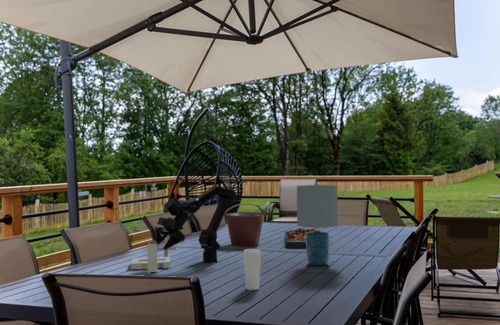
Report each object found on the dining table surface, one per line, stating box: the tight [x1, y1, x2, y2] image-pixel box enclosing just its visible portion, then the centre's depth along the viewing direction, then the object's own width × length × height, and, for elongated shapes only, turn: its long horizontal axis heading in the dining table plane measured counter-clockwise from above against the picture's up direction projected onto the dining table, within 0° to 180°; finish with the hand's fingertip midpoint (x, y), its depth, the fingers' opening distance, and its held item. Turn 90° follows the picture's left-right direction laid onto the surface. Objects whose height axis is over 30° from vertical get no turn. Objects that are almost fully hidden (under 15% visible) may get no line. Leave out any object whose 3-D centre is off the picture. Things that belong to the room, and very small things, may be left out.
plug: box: [147, 239, 158, 273], centre depth 221 cm, size 4×4×14 cm
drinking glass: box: [242, 248, 262, 291], centre depth 188 cm, size 7×7×15 cm
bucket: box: [224, 203, 266, 248], centre depth 295 cm, size 24×22×25 cm
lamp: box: [296, 184, 339, 267], centre depth 234 cm, size 19×19×38 cm
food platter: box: [284, 227, 315, 249], centre depth 303 cm, size 45×25×10 cm, turn 177°
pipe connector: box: [157, 238, 177, 257], centre depth 254 cm, size 10×10×10 cm
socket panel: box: [130, 256, 171, 270], centre depth 233 cm, size 18×14×3 cm
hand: (158, 248), depth 223 cm, fingers open, 9 cm apart
